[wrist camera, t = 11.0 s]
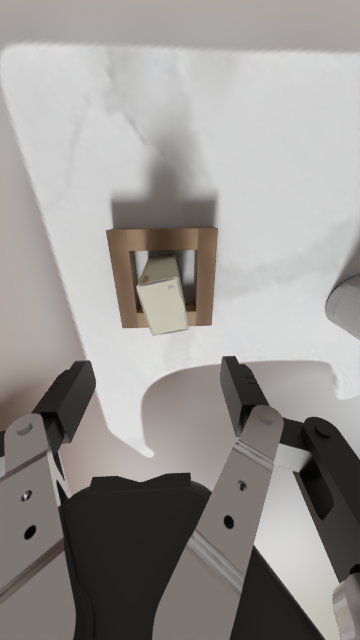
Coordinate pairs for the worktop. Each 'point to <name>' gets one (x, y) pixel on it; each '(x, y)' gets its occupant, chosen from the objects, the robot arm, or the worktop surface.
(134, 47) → the worktop surface
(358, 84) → the worktop surface
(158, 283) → the skincare box
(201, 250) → the socket block
